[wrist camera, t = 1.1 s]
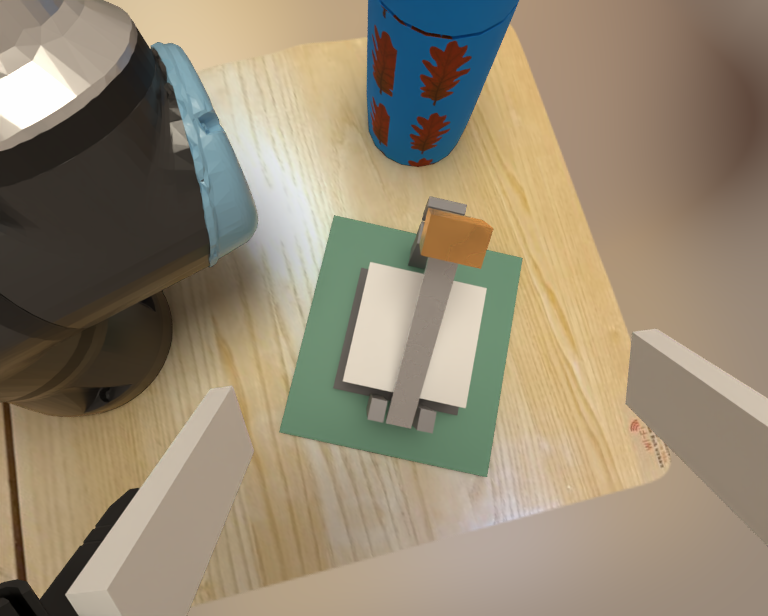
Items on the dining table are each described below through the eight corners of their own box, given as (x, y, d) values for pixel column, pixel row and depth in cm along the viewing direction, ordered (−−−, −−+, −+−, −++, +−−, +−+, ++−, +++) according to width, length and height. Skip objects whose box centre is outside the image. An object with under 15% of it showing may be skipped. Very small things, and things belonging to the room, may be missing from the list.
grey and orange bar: (376, 416, 32) (372, 447, 28) (428, 207, 26) (431, 214, 22) (420, 426, 32) (422, 458, 28) (482, 219, 26) (493, 228, 22)
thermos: (466, 167, 44) (600, -98, 19) (369, 169, 43) (378, -102, 19) (458, 78, 46) (570, -268, 21) (364, 80, 45) (366, -278, 20)
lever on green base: (281, 430, 38) (249, 452, 27) (334, 218, 42) (325, 165, 31) (483, 474, 39) (531, 513, 28) (518, 260, 42) (572, 221, 32)
